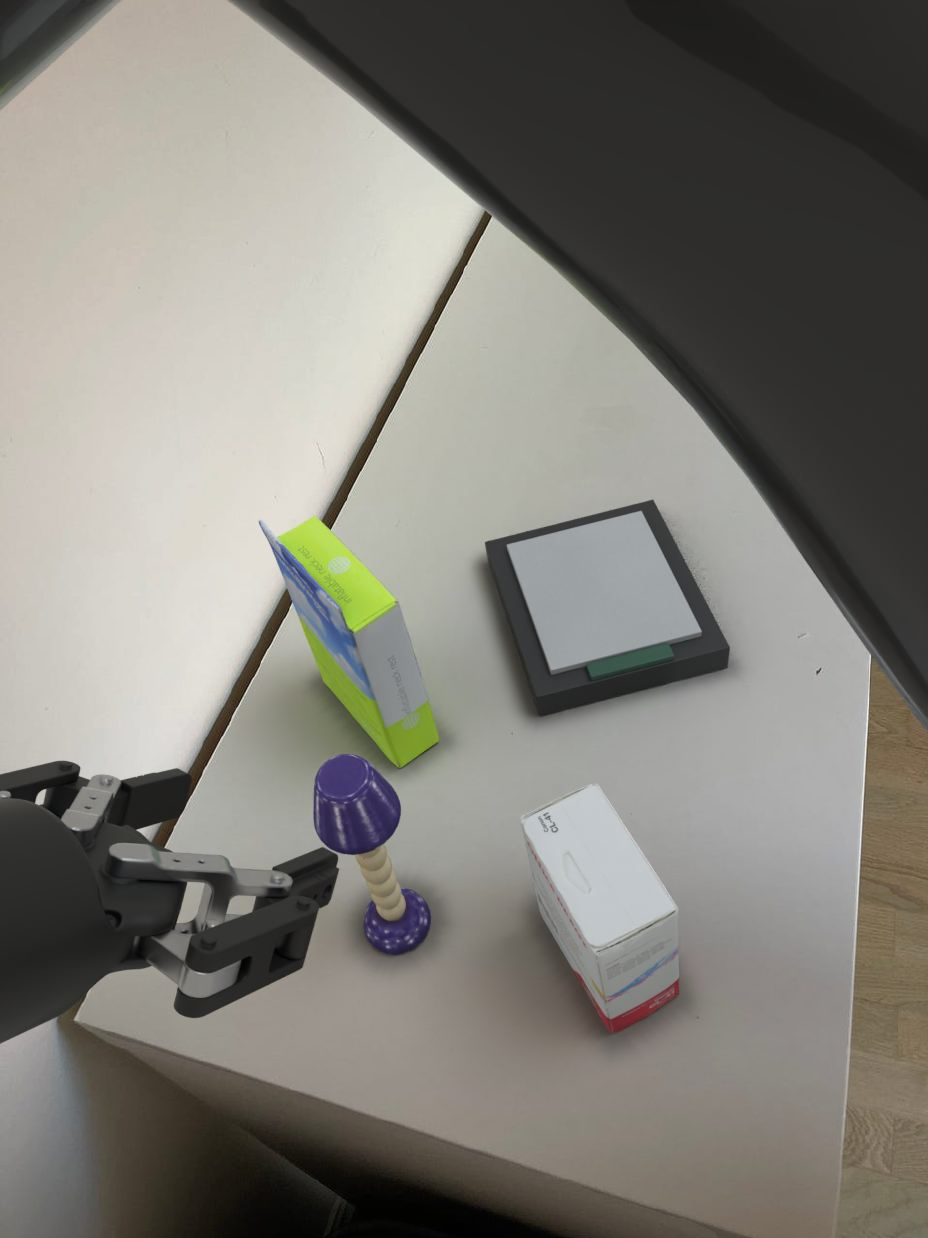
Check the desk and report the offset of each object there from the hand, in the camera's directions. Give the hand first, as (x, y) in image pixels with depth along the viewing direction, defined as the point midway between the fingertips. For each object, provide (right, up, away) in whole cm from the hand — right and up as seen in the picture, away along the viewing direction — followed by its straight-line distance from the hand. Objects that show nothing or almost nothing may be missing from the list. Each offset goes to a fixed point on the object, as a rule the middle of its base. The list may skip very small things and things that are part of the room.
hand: (252, 829), depth 44 cm
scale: (+20, +10, +32) cm, 39 cm away
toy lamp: (+6, -9, +18) cm, 21 cm away
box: (+3, +2, +29) cm, 29 cm away
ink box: (+18, -11, +15) cm, 26 cm away
